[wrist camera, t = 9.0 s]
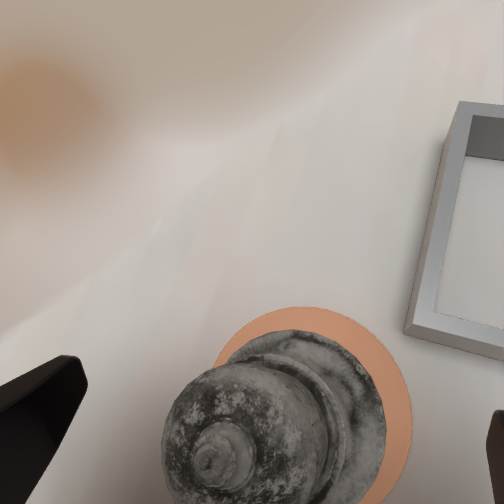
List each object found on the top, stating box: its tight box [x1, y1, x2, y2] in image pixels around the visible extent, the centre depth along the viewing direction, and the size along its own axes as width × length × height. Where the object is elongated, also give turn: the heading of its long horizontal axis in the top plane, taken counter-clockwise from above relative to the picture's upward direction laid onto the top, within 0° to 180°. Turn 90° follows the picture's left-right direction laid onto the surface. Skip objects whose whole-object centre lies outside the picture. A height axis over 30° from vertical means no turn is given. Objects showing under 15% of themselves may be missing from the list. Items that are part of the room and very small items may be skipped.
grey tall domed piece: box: [161, 329, 387, 504], centre depth 11 cm, size 6×6×12 cm
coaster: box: [213, 307, 412, 504], centre depth 17 cm, size 8×8×1 cm
